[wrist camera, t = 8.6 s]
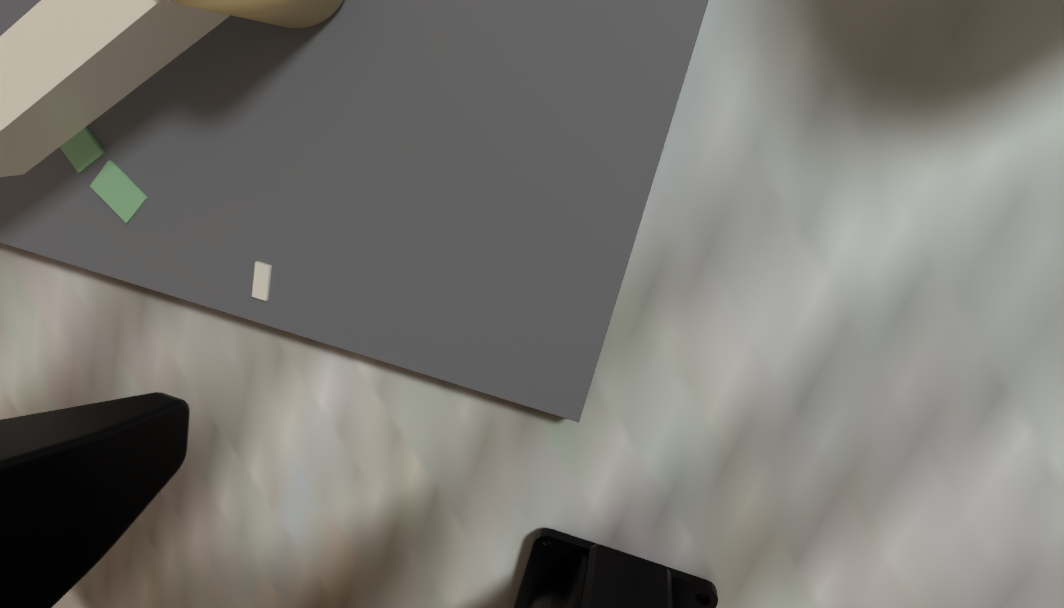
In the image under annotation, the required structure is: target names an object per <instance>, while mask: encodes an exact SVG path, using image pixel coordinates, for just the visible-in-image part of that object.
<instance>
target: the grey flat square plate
mask: <svg viewBox="0 0 1064 608" xmlns="http://www.w3.org/2000/svg"><path fill="white" fill-rule="evenodd" d="M40 1H41V0H0V36H1V35H2V34H3V33H5V32H6V31H7V30H8V29H9V28H10V27H11V26H12V25H14V24H15V23H16V22H17V21H18V20H19V19H20V18H22V17H23V16H24V15H25V14H26V13H27V12H28V11H29V10H31V9H32V8H33V7H34V6H35V5H36V4H37V3H38V2H40ZM707 3H708V0H343V1H342V3H341V4H340V6H339V7H338V9H337V10H336V11H335V12H334V13H333V14H332V15H331V16H330V17H328V18H327V19H326V20H324V21H322V22H321V23H319V24H316V25H314V26H311V27H307V28H298V29H296V28H287V27H282V26H278V25H273V24H268V23H264V22H259V21H255V20H250V19H245V18H241V17H236V16H232V15H231V16H229V17H228V18H227V19H225V20H224V21H223V22H221V23H220V24H219V25H218V26H216V27H215V28H214V29H212V30H211V31H210V32H208V33H207V34H206V35H205V36H203V37H202V38H201V39H199V40H198V41H197V42H195V43H194V44H193V45H192V46H190V47H189V48H188V49H186V50H185V51H184V52H182V53H181V54H180V55H178V56H177V57H176V58H175V59H173V60H172V61H171V62H169V63H168V64H167V65H165V66H164V67H163V68H162V69H160V70H159V71H158V72H156V73H155V74H154V75H152V76H151V77H150V78H149V79H147V80H146V81H145V82H143V83H142V84H141V85H139V86H138V87H137V88H136V89H134V90H133V91H132V92H130V93H129V94H128V95H126V96H125V97H124V98H123V99H121V100H120V101H119V102H117V103H116V104H115V105H113V106H112V107H111V108H110V109H108V110H107V111H106V112H104V113H103V114H102V115H100V116H99V117H98V118H96V119H95V120H94V121H93V122H91V123H90V124H89V125H87V126H86V127H85V128H83V129H82V130H81V131H80V132H78V133H77V134H76V135H74V136H73V137H72V138H70V139H69V140H68V141H67V142H65V143H64V144H63V145H61V146H60V147H59V148H57V149H56V150H55V151H54V152H52V153H51V154H50V155H48V156H47V157H46V158H44V159H43V160H42V161H41V162H39V163H38V164H37V165H35V166H34V167H33V168H31V169H30V170H29V171H28V172H26V173H25V174H24V175H15V176H6V177H0V243H3V244H6V245H10V246H13V247H16V248H19V249H23V250H26V251H29V252H32V253H35V254H39V255H42V256H45V257H48V258H52V259H55V260H58V261H61V262H64V263H68V264H71V265H74V266H77V267H80V268H84V269H87V270H90V271H93V272H97V273H100V274H103V275H106V276H109V277H113V278H116V279H119V280H122V281H126V282H129V283H132V284H135V285H138V286H142V287H145V288H148V289H151V290H155V291H158V292H161V293H164V294H167V295H171V296H174V297H177V298H180V299H183V300H187V301H190V302H193V303H196V304H200V305H203V306H206V307H209V308H212V309H216V310H219V311H222V312H225V313H229V314H232V315H235V316H238V317H241V318H245V319H248V320H251V321H254V322H257V323H261V324H264V325H267V326H270V327H274V328H277V329H280V330H283V331H286V332H290V333H293V334H296V335H299V336H303V337H306V338H309V339H312V340H315V341H319V342H322V343H325V344H328V345H331V346H335V347H338V348H341V349H344V350H348V351H351V352H354V353H357V354H360V355H364V356H367V357H370V358H373V359H377V360H380V361H383V362H386V363H389V364H393V365H396V366H399V367H402V368H405V369H409V370H412V371H415V372H418V373H422V374H425V375H428V376H431V377H434V378H438V379H441V380H444V381H447V382H451V383H454V384H457V385H460V386H463V387H467V388H470V389H473V390H476V391H479V392H483V393H486V394H489V395H492V396H496V397H499V398H502V399H505V400H508V401H512V402H515V403H518V404H521V405H525V406H528V407H531V408H534V409H537V410H541V411H544V412H547V413H550V414H554V415H557V416H560V417H563V418H566V419H570V420H573V421H576V422H579V420H580V417H581V414H582V410H583V407H584V404H585V400H586V397H587V394H588V391H589V387H590V384H591V381H592V378H593V374H594V371H595V368H596V365H597V361H598V358H599V355H600V352H601V348H602V345H603V342H604V339H605V335H606V332H607V329H608V326H609V322H610V319H611V316H612V313H613V309H614V306H615V303H616V300H617V296H618V293H619V290H620V287H621V283H622V280H623V277H624V274H625V270H626V267H627V264H628V261H629V257H630V254H631V251H632V247H633V244H634V241H635V238H636V234H637V231H638V228H639V225H640V221H641V218H642V215H643V212H644V208H645V205H646V202H647V199H648V195H649V192H650V189H651V186H652V182H653V179H654V176H655V173H656V169H657V166H658V163H659V160H660V156H661V153H662V150H663V147H664V143H665V140H666V137H667V134H668V130H669V127H670V124H671V121H672V117H673V114H674V111H675V108H676V104H677V101H678V98H679V95H680V91H681V88H682V85H683V81H684V78H685V75H686V72H687V68H688V65H689V62H690V59H691V55H692V52H693V49H694V46H695V42H696V39H697V36H698V33H699V29H700V26H701V23H702V20H703V16H704V13H705V10H706V7H707Z"/></svg>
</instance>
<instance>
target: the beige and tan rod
mask: <svg viewBox="0 0 1064 608" xmlns="http://www.w3.org/2000/svg"><path fill="white" fill-rule="evenodd" d="M342 1H343V0H41V1H40V2H38V3H37V4H36V5H35V6H34V7H33V8H32V9H31V10H29V11H28V12H27V13H26V14H25V15H24V16H23V17H22V18H20V19H19V20H18V21H17V22H16V23H15V24H14V25H12V26H11V27H10V28H9V29H8V30H7V31H6V32H5V33H3V34H2V35H1V36H0V177H6V176H15V175H24V174H25V173H26V172H28V171H29V170H30V169H31V168H33V167H34V166H35V165H37V164H38V163H39V162H41V161H42V160H43V159H44V158H46V157H47V156H48V155H50V154H51V153H52V152H54V151H55V150H56V149H57V148H59V147H60V146H61V145H63V144H64V143H65V142H67V141H68V140H69V139H70V138H72V137H73V136H74V135H76V134H77V133H78V132H80V131H81V130H82V129H83V128H85V127H86V126H87V125H89V124H90V123H91V122H93V121H94V120H95V119H96V118H98V117H99V116H100V115H102V114H103V113H104V112H106V111H107V110H108V109H110V108H111V107H112V106H113V105H115V104H116V103H117V102H119V101H120V100H121V99H123V98H124V97H125V96H126V95H128V94H129V93H130V92H132V91H133V90H134V89H136V88H137V87H138V86H139V85H141V84H142V83H143V82H145V81H146V80H147V79H149V78H150V77H151V76H152V75H154V74H155V73H156V72H158V71H159V70H160V69H162V68H163V67H164V66H165V65H167V64H168V63H169V62H171V61H172V60H173V59H175V58H176V57H177V56H178V55H180V54H181V53H182V52H184V51H185V50H186V49H188V48H189V47H190V46H192V45H193V44H194V43H195V42H197V41H198V40H199V39H201V38H202V37H203V36H205V35H206V34H207V33H208V32H210V31H211V30H212V29H214V28H215V27H216V26H218V25H219V24H220V23H221V22H223V21H224V20H225V19H227V18H228V17H229V16H231V15H232V16H236V17H241V18H245V19H250V20H255V21H259V22H264V23H268V24H273V25H278V26H282V27H287V28H296V29H298V28H307V27H311V26H314V25H316V24H319V23H321V22H322V21H324V20H326V19H327V18H328V17H330V16H331V15H332V14H333V13H334V12H335V11H336V10H337V9H338V7H339V6H340V4H341V3H342Z"/></svg>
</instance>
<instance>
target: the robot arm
mask: <svg viewBox="0 0 1064 608" xmlns="http://www.w3.org/2000/svg"><path fill="white" fill-rule="evenodd" d="M188 428H189V406H188V404H187V403H186V402H185V401H184V400H182V399H179V398H176V397H173V396H170V395H167V394H164V393H158V392H157V393H150V394H144V395H139V396H133V397H127V398H122V399H116V400H110V401H105V402H99V403H93V404H88V405H82V406H77V407H71V408H65V409H60V410H54V411H48V412H43V413H37V414H31V415H26V416H20V417H14V418H9V419H3V420H0V608H51V607H52V606H53V605H55V604H56V603H57V602H58V601H59V600H60V599H61V597H63V595H65V594H66V593H67V592H68V591H69V590H70V589H71V588H72V587H73V586H74V585H75V584H76V583H77V582H78V581H79V580H80V579H81V578H82V577H84V576H85V575H86V574H87V573H88V572H89V571H90V569H91V568H92V567H93V566H94V565H95V564H96V563H97V562H98V561H99V560H100V559H101V558H102V557H103V556H104V555H105V554H106V553H107V552H108V551H109V550H110V548H111V547H112V546H113V545H114V544H115V543H116V542H117V541H118V539H119V538H120V537H121V536H122V535H123V534H124V532H125V531H126V530H127V529H128V528H129V527H130V525H131V524H132V523H133V522H134V521H135V520H136V519H137V517H138V516H139V515H140V514H141V513H142V512H143V510H144V509H145V508H146V507H147V506H148V505H149V503H150V502H151V501H152V500H153V499H154V498H155V496H156V495H157V494H158V493H159V492H160V491H161V489H162V488H163V487H164V486H165V485H166V484H167V482H168V481H169V480H170V479H171V478H172V477H173V475H174V474H175V473H176V472H177V471H178V469H179V468H180V467H181V465H182V463H183V461H184V459H185V456H186V452H187V442H188ZM543 542H550V543H551V544H553V546H552V547H548V546H546V545H544V544H543ZM700 593H703V594H707V596H706V597H699V596H697V594H700ZM717 603H718V596H717V590H716V587H715V586H714V585H713V583H712V582H710V581H708V580H705V579H702V578H699V577H696V576H693V575H690V574H687V573H684V572H681V571H678V570H675V569H672V568H669V567H666V566H664V565H660V564H657V563H654V562H651V561H648V560H645V559H642V558H639V557H636V556H633V555H630V554H627V553H624V552H621V551H618V550H615V549H612V548H609V547H606V546H603V545H599V544H596V543H593V542H590V541H587V540H584V539H580V538H577V537H574V536H571V535H568V534H565V533H562V532H559V531H556V530H553V529H542V530H540V531H539V532H538V533H537V535H536V536H535V540H534V543H533V546H532V550H531V553H530V556H529V560H528V563H527V566H526V569H525V573H524V576H523V579H522V583H521V586H520V589H519V593H518V596H517V599H516V603H515V606H514V608H716V606H717Z"/></svg>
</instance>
